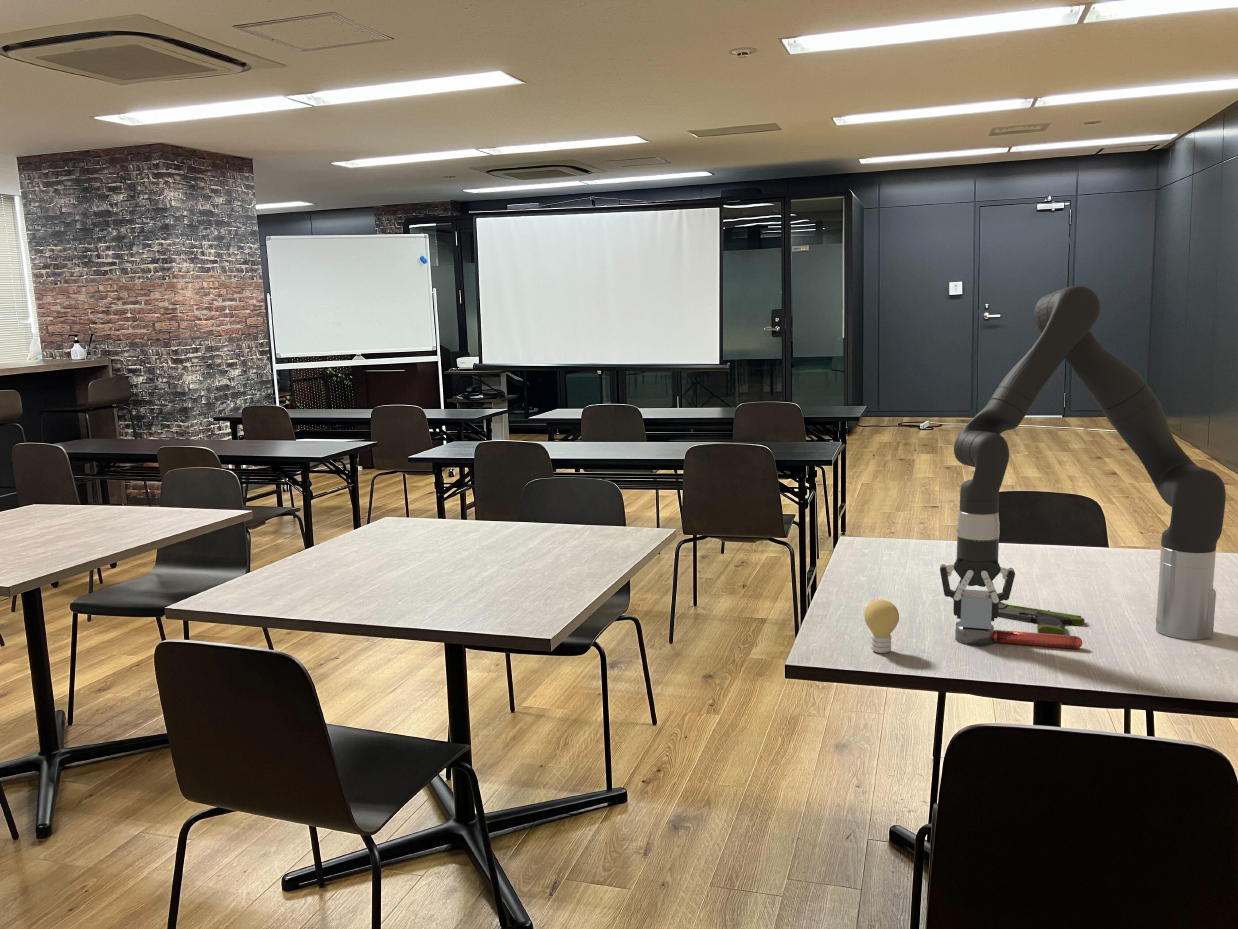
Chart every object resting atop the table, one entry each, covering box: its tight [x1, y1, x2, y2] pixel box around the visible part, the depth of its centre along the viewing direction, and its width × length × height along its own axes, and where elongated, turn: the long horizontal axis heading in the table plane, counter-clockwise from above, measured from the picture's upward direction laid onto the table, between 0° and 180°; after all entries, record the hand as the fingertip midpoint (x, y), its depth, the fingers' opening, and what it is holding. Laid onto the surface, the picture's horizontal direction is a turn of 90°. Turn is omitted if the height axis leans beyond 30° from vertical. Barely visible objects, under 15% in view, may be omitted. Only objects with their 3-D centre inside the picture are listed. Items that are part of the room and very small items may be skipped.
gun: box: [998, 601, 1085, 635], centre depth 196 cm, size 2×19×15 cm
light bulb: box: [863, 599, 900, 654], centre depth 180 cm, size 6×6×10 cm
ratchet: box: [954, 620, 1084, 650], centre depth 183 cm, size 23×7×8 cm, turn 71°
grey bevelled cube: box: [959, 588, 992, 629], centre depth 185 cm, size 6×6×6 cm
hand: (975, 618), depth 185 cm, fingers closed on grey bevelled cube, 5 cm apart
